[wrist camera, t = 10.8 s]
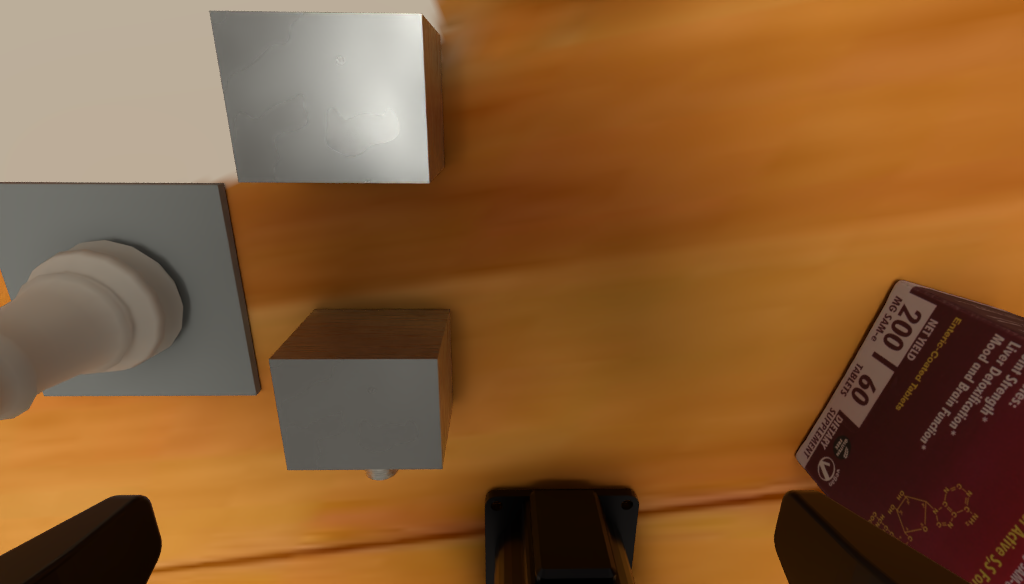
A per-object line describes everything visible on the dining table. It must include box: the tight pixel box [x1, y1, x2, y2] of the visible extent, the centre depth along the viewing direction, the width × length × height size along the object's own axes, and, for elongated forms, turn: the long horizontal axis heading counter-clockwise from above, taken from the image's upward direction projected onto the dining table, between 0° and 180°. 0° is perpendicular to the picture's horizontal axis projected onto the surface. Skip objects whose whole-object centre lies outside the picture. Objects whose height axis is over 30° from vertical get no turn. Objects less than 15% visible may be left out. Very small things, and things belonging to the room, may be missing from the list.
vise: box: [209, 11, 453, 480], centre depth 17 cm, size 15×5×4 cm, turn 179°
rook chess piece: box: [0, 240, 183, 420], centre depth 15 cm, size 4×4×8 cm
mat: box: [0, 182, 261, 396], centre depth 18 cm, size 8×8×1 cm
